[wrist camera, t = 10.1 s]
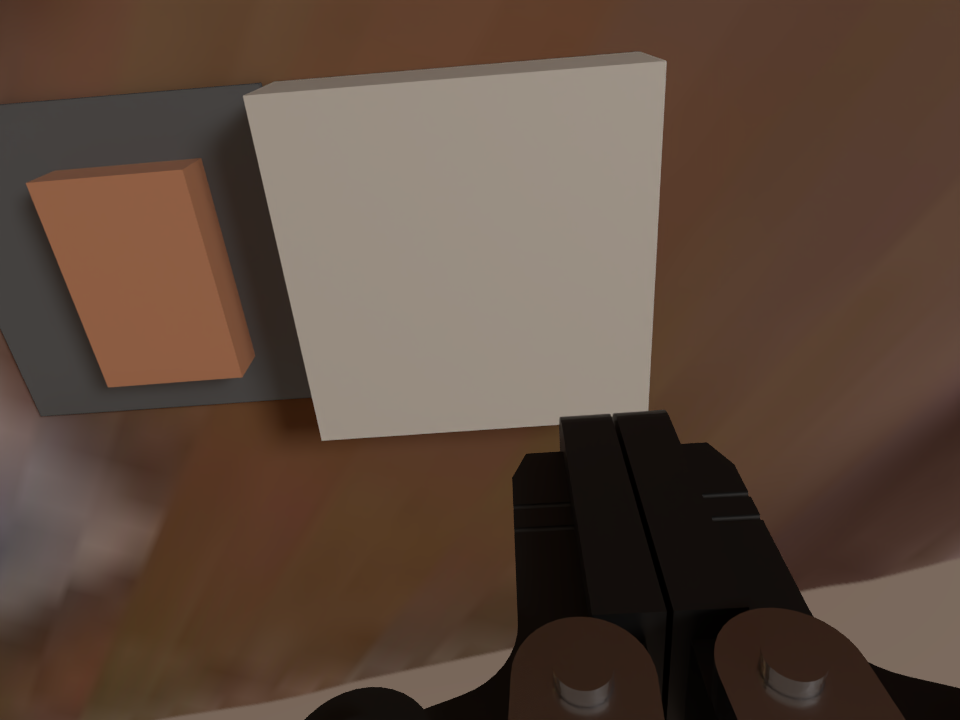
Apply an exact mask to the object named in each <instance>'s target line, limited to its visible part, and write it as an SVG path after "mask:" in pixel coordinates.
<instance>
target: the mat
mask: <svg viewBox="0 0 960 720" xmlns="http://www.w3.org/2000/svg"><path fill="white" fill-rule="evenodd" d="M261 87H262V85H261V83H254V84H242V85H230V86H217V87H205V88H193V89H181V90H169V91H157V92H145V93H133V94H121V95H109V96H97V97H85V98H73V99H60V100H48V101H36V102H24V103H12V104H0V329H1V331H2V333H3V335H4V337H5V339H6V342H7V344H8V346H9V348H10V350H11V352H12V355H13V357H14V359H15V361H16V363H17V365H18V368H19V370H20V372H21V374H22V376H23V378H24V380H25V383H26V385H27V387H28V389H29V391H30V393H31V396H32V398H33V400H34V402H35V404H36V406H37V409H38V411H39V413H40V415H41V416H52V415H66V414H80V413H95V412H109V411H123V410H138V409H152V408H167V407H181V406H195V405H210V404H224V403H238V402H253V401H267V400H282V399H296V398H310V397H312V396H311V391H310V387H309V383H308V378H307V374H306V369H305V365H304V361H303V356H302V352H301V348H300V343H299V339H298V335H297V330H296V326H295V321H294V317H293V313H292V308H291V304H290V300H289V295H288V291H287V287H286V282H285V278H284V274H283V269H282V265H281V260H280V256H279V252H278V247H277V243H276V239H275V234H274V230H273V226H272V221H271V217H270V212H269V208H268V204H267V199H266V195H265V191H264V186H263V182H262V178H261V173H260V169H259V164H258V160H257V156H256V151H255V147H254V143H253V138H252V134H251V130H250V125H249V121H248V117H247V112H246V108H245V103H244V99H243V95H246V94H248V93H250V92H252V91H255V90H257V89H259V88H261ZM196 158H201V159H202V162H203V166H204V170H205V173H206V177H207V181H208V184H209V188H210V192H211V195H212V199H213V203H214V206H215V210H216V214H217V217H218V221H219V225H220V228H221V232H222V236H223V239H224V243H225V246H226V250H227V254H228V257H229V261H230V265H231V268H232V272H233V276H234V279H235V283H236V287H237V290H238V294H239V298H240V301H241V305H242V309H243V312H244V316H245V320H246V323H247V327H248V331H249V334H250V338H251V341H252V345H253V349H254V352H255V357H254V359H253V361H252V362H251V364H250V366H249V367H248V369H247V371H246V372H245V374H244V376H243V377H240V378H227V379H214V380H201V381H187V382H174V383H161V384H148V385H135V386H121V387H108V386H107V384H106V381H105V379H104V376H103V374H102V371H101V369H100V366H99V364H98V361H97V359H96V356H95V354H94V351H93V349H92V346H91V344H90V341H89V339H88V337H87V334H86V332H85V329H84V327H83V324H82V322H81V319H80V317H79V314H78V312H77V309H76V307H75V304H74V302H73V299H72V297H71V294H70V292H69V289H68V287H67V284H66V282H65V280H64V277H63V275H62V272H61V270H60V267H59V265H58V262H57V260H56V257H55V255H54V252H53V250H52V247H51V245H50V242H49V240H48V237H47V235H46V232H45V230H44V227H43V225H42V223H41V220H40V218H39V215H38V213H37V210H36V208H35V205H34V203H33V200H32V198H31V195H30V193H29V190H28V188H27V185H26V183H27V182H29V181H31V180H34V179H36V178H38V177H41V176H43V175H46V174H48V173H50V172H53V171H57V170H68V169H80V168H92V167H103V166H115V165H127V164H138V163H150V162H161V161H173V160H185V159H196Z"/></svg>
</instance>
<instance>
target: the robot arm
mask: <svg viewBox="0 0 960 720" xmlns="http://www.w3.org/2000/svg"><path fill="white" fill-rule="evenodd" d="M559 433H560V452H548V453H531V454H526V455H525V457H524V458H523V460H522V462H521V464H520V465H519V467H518V469H517V471H516V472H515V474H514V476H513V477H512V481H513V506H514V530H515V559H516V585H517V610H518V634H517V638H516V642H515V646H514V648H513V650H512V653H511V655H510V657H509V658H508V660H507V661H506V663H505V664H504V666H503V667H502V668H501V669H500V670H499V671H498V672H497V674H496V675H494V676H493V677H492V678H491V679H490V680H488V681H487V682H486V683H484V684H483V685H481V686H480V687H478V688H476V689H475V690H473V691H470V692H468V693H466V694H464V695H461V696H459V697H456V698H453V699H451V700H448V701H445V702H442V703H440V704H437V705H434V706H431V707H429V708H426V709H423V708H422V707H421V706H420V705H419V704H418V703H417V702H416V701H415V700H414V699H412V698H410V697H409V696H407V695H405V694H404V693H401V692H398V691H396V690H393V689H388V688H382V687H368V688H361V689H355V690H352V691H349V692H345V693H343V694H341V695H338V696H336V697H334V698H332V699H330V700H329V701H327V702H326V703H324V704H323V705H321V706H320V707H318V708H317V709H316V710H315V711H314V712H312V713H311V714H310V715H309V716H308V717H307V718H306V719H305V720H960V688H956V687H952V686H947V685H943V684H939V683H934V682H930V681H925V680H921V679H917V678H912V677H908V676H904V675H901V674H897V673H893V672H890V671H888V670H885V669H882V668H880V667H877V666H875V665H873V664H871V663H869V662H867V660H866V659H865V657H864V656H863V655H862V653H861V652H860V651H859V650H858V648H857V647H856V646H855V645H854V644H853V643H852V642H851V641H850V640H849V639H848V638H846V637H845V636H844V635H843V634H841V633H840V632H839V631H838V630H836V629H835V628H833V627H831V626H830V625H828V624H826V623H825V622H823V621H821V620H819V619H817V618H814V617H813V615H812V613H811V612H810V610H809V608H808V606H807V604H806V603H805V601H804V599H803V597H802V595H801V593H800V591H799V589H798V587H797V585H796V583H795V581H794V579H793V577H792V576H791V574H790V572H789V570H788V568H787V566H786V564H785V562H784V560H783V558H782V556H781V554H780V552H779V550H778V548H777V547H776V545H775V543H774V541H773V539H772V537H771V535H770V533H769V531H768V529H767V527H766V525H765V523H764V521H763V520H760V514H759V512H758V510H757V508H756V506H755V504H754V502H753V500H752V498H751V497H749V496H748V490H747V489H746V487H745V485H744V483H743V481H742V479H741V477H740V475H739V473H738V471H737V469H736V467H735V465H734V464H733V463H732V462H731V461H729V460H728V459H727V458H726V457H724V456H723V455H722V454H721V453H719V452H718V451H717V450H716V449H714V448H713V447H712V446H711V445H709V444H708V443H690V444H680V441H679V439H678V436H677V434H676V432H675V429H674V427H673V425H672V422H671V420H670V417H669V415H668V413H667V412H666V411H665V410H655V411H640V412H624V413H613V416H611V414H596V415H581V416H565V417H560V418H559Z"/></svg>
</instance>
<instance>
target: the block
mask: <svg viewBox="0 0 960 720" xmlns="http://www.w3.org/2000/svg"><path fill="white" fill-rule="evenodd" d="M26 185H27V188H28V190H29V193H30V195H31V198H32V200H33V203H34V205H35V208H36V210H37V213H38V215H39V218H40V220H41V223H42V225H43V227H44V230H45V232H46V235H47V237H48V240H49V242H50V245H51V247H52V250H53V252H54V255H55V257H56V260H57V262H58V265H59V267H60V270H61V272H62V275H63V277H64V280H65V282H66V284H67V287H68V289H69V292H70V294H71V297H72V299H73V302H74V304H75V307H76V309H77V312H78V314H79V317H80V319H81V322H82V324H83V327H84V329H85V332H86V334H87V337H88V339H89V341H90V344H91V346H92V349H93V351H94V354H95V356H96V359H97V361H98V364H99V366H100V369H101V371H102V374H103V376H104V379H105V381H106V384H107V386H108V387H121V386H135V385H148V384H161V383H174V382H187V381H201V380H214V379H227V378H240V377H243V376H244V374H245V372H246V371H247V369H248V367H249V366H250V364H251V362H252V361H253V359H254V357H255V352H254V349H253V345H252V341H251V338H250V334H249V331H248V327H247V323H246V320H245V316H244V312H243V309H242V305H241V301H240V298H239V294H238V290H237V287H236V283H235V279H234V276H233V272H232V268H231V265H230V261H229V257H228V254H227V250H226V246H225V243H224V239H223V236H222V232H221V228H220V225H219V221H218V217H217V214H216V210H215V206H214V203H213V199H212V195H211V192H210V188H209V184H208V181H207V177H206V173H205V170H204V166H203V162H202V159H201V158H196V159H185V160H173V161H161V162H150V163H138V164H127V165H115V166H103V167H92V168H80V169H68V170H57V171H53V172H50V173H48V174H46V175H43V176H41V177H38V178H36V179H34V180H31V181H29V182H27V183H26Z"/></svg>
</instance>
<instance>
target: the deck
mask: <svg viewBox="0 0 960 720" xmlns="http://www.w3.org/2000/svg"><path fill="white" fill-rule="evenodd" d="M666 63H667V61H666V60H663V59H660V58H657V57H654V56H651V55H648V54H645V53H643V52H628V53H616V54H604V55H592V56H580V57H568V58H556V59H544V60H531V61H519V62H507V63H495V64H483V65H471V66H459V67H447V68H435V69H423V70H411V71H399V72H387V73H374V74H362V75H350V76H338V77H326V78H314V79H302V80H290V81H278V82H272V83H270V84H268V85H266V86H264V87H261V88H259V89H257V90H255V91H252V92H250V93H248V94H246V95H243V99H244V103H245V108H246V112H247V117H248V121H249V125H250V130H251V134H252V138H253V143H254V147H255V151H256V156H257V160H258V164H259V169H260V173H261V178H262V182H263V186H264V191H265V195H266V199H267V204H268V208H269V212H270V217H271V221H272V226H273V230H274V234H275V239H276V243H277V247H278V252H279V256H280V260H281V265H282V269H283V274H284V278H285V282H286V287H287V291H288V295H289V300H290V304H291V308H292V313H293V317H294V321H295V326H296V330H297V335H298V339H299V343H300V348H301V352H302V356H303V361H304V365H305V369H306V374H307V378H308V383H309V387H310V391H311V396H312V400H313V404H314V409H315V413H316V417H317V422H318V426H319V431H320V435H321V439H322V441H325V440H340V439H354V438H369V437H384V436H399V435H413V434H428V433H443V432H458V431H472V430H487V429H502V428H517V427H531V426H546V425H559V418H560V417H565V416H581V415H596V414H611V416H613V413H624V412H640V411H648V403H649V384H650V365H651V346H652V327H653V308H654V289H655V270H656V251H657V233H658V214H659V195H660V176H661V157H662V138H663V119H664V100H665V82H666Z"/></svg>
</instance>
